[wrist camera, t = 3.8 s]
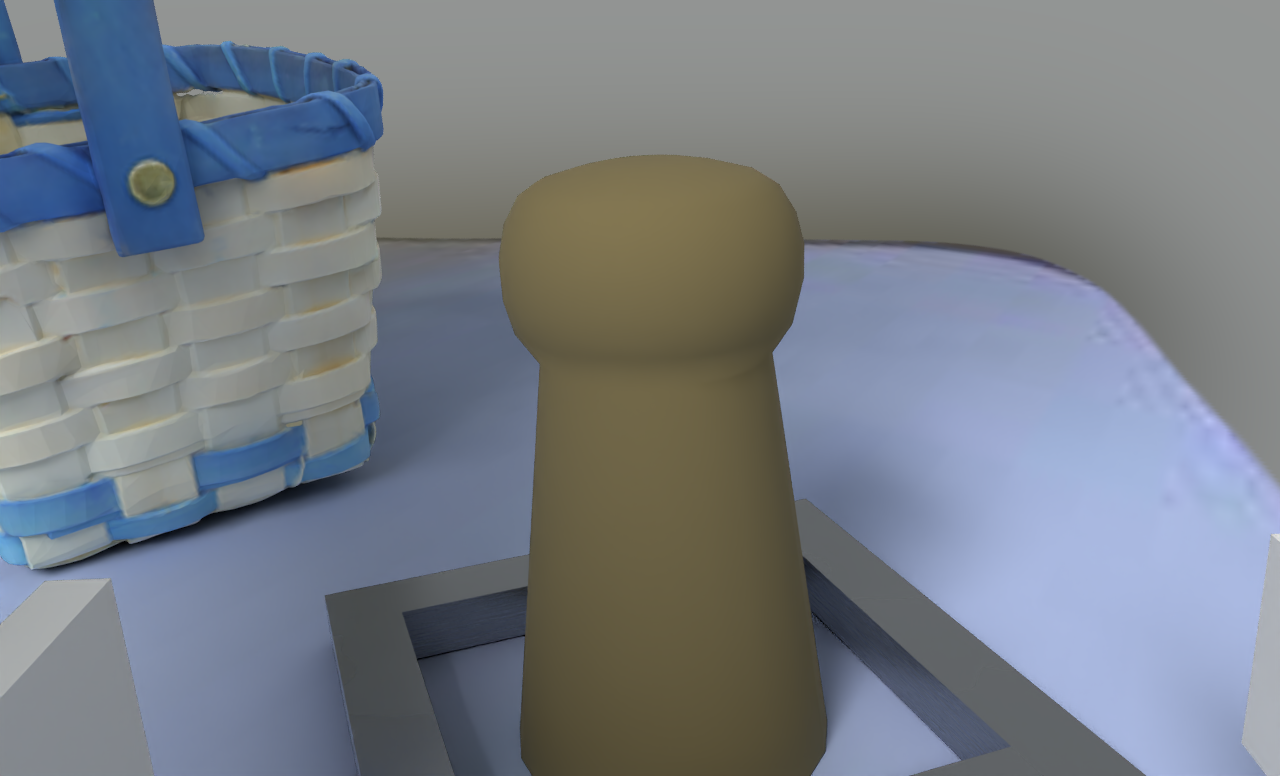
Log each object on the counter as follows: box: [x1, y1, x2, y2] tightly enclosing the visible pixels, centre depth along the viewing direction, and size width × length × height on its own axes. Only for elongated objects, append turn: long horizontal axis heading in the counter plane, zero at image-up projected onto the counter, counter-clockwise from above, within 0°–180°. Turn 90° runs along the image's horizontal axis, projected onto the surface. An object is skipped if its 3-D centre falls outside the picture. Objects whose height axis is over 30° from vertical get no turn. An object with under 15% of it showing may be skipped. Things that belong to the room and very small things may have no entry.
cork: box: [499, 155, 827, 776], centre depth 21 cm, size 6×6×11 cm
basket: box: [0, 0, 383, 570], centre depth 33 cm, size 21×16×24 cm
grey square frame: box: [325, 499, 1146, 776], centre depth 23 cm, size 12×12×1 cm
